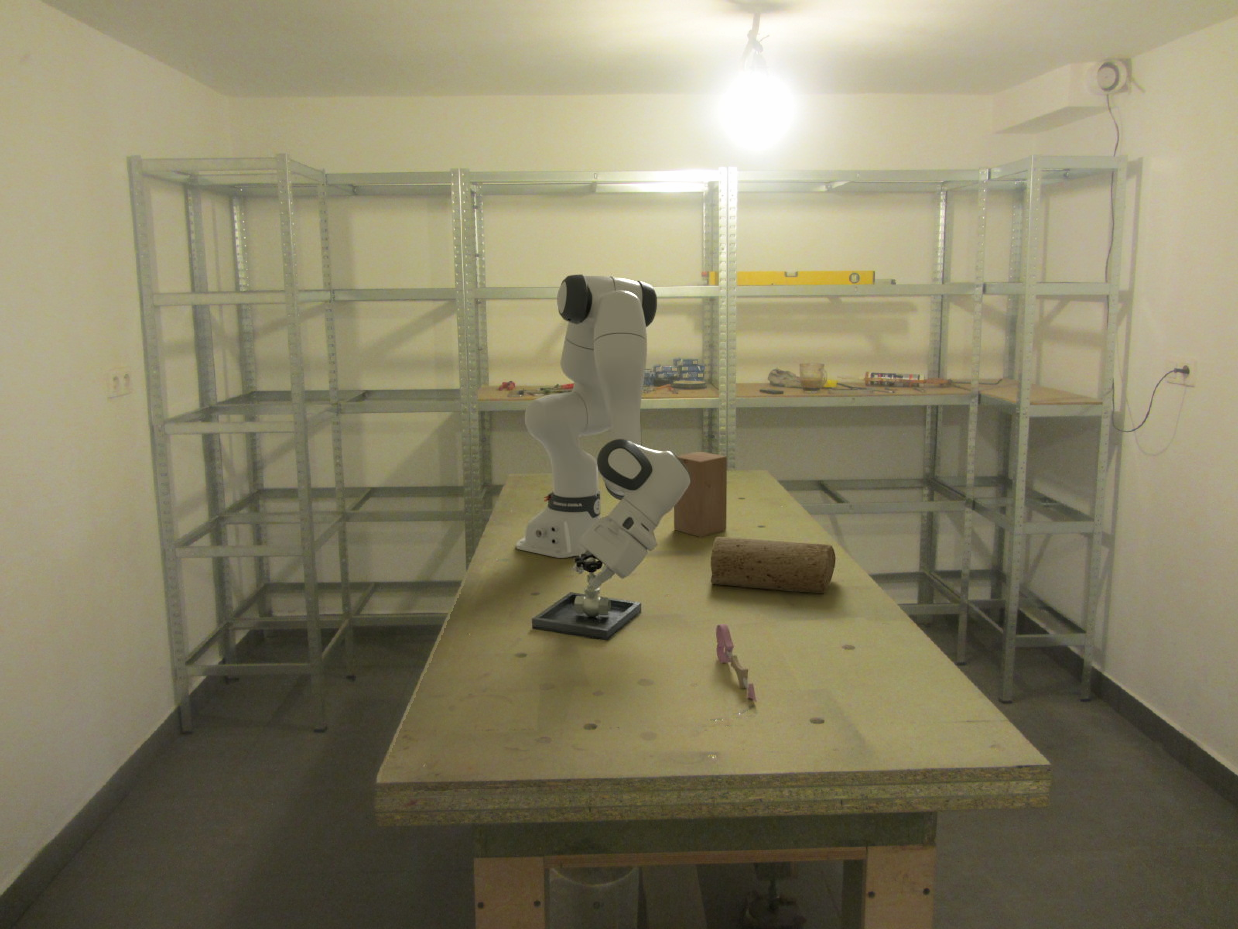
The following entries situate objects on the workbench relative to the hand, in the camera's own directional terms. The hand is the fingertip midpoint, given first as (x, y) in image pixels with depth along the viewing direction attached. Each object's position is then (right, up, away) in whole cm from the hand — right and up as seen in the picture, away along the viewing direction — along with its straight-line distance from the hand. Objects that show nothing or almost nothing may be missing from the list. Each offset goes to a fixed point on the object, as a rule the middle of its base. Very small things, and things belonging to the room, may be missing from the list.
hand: (583, 578), depth 176 cm
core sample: (+40, -4, +21) cm, 45 cm away
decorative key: (+26, -14, -25) cm, 39 cm away
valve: (+2, -8, +3) cm, 8 cm away
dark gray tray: (+1, -8, +2) cm, 9 cm away
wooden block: (+28, +5, +63) cm, 69 cm away
